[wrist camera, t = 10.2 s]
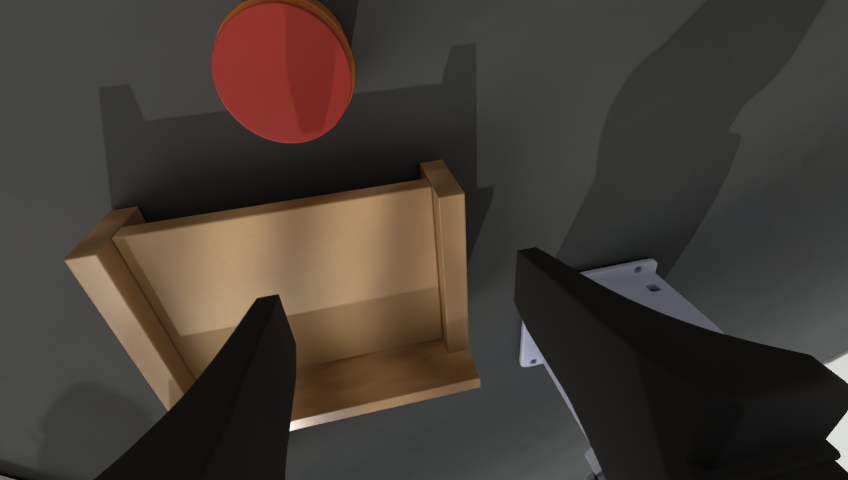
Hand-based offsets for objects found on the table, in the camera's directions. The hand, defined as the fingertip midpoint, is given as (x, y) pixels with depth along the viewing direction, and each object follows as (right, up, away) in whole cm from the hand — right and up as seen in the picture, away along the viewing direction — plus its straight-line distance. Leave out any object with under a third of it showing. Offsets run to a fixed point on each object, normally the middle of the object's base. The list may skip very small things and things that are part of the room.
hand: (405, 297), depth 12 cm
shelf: (-6, 0, +11) cm, 12 cm away
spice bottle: (-5, +10, +5) cm, 12 cm away
